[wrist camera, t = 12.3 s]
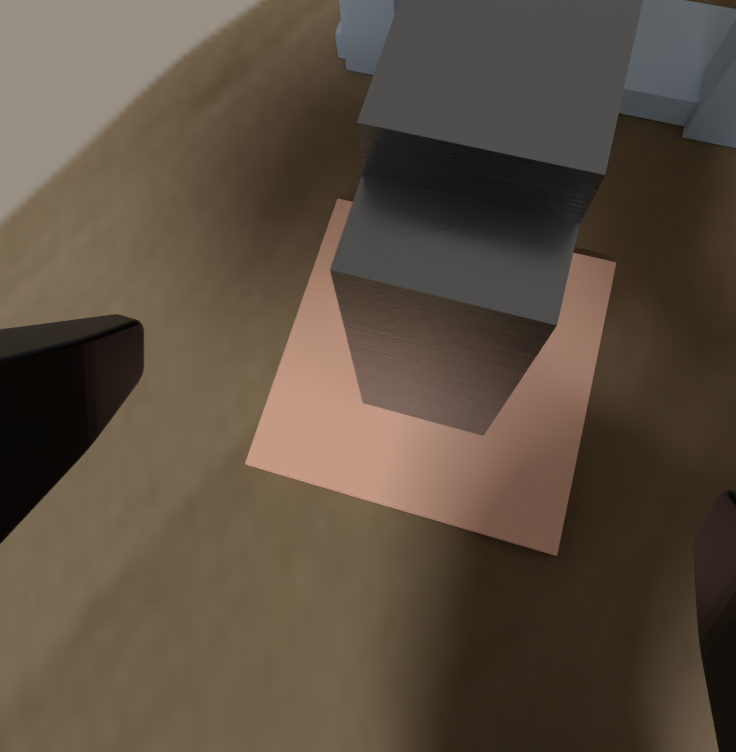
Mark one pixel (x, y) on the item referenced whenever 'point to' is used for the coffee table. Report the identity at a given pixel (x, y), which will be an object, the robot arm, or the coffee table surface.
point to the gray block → (474, 195)
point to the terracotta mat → (432, 440)
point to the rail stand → (646, 68)
